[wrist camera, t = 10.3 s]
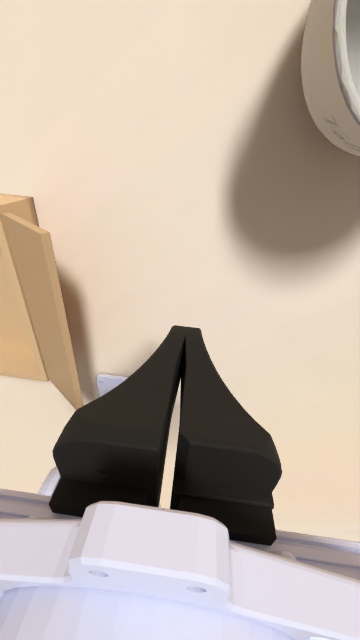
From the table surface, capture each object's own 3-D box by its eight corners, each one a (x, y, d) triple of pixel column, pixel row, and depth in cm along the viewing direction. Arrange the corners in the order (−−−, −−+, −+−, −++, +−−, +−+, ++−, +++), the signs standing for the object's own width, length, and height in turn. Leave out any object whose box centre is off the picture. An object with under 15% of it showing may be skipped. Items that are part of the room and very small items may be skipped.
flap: (48, 379, 25) (53, 376, 25) (79, 413, 22) (84, 410, 22) (1, 213, 17) (9, 212, 17) (40, 233, 14) (49, 232, 14)
